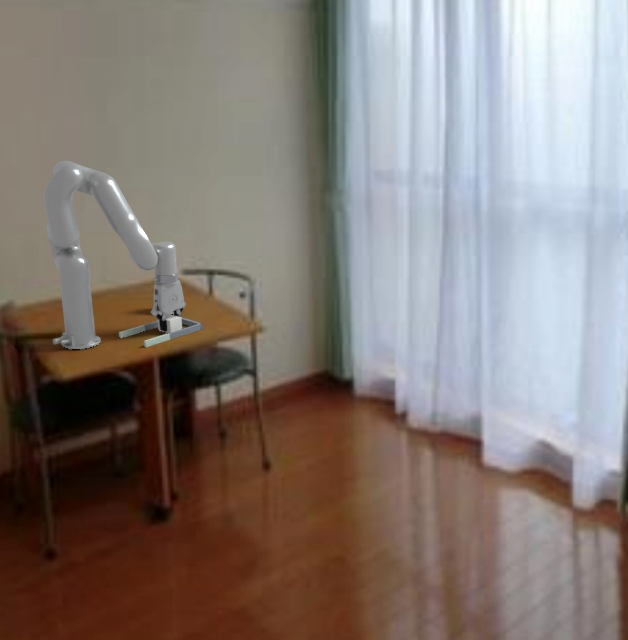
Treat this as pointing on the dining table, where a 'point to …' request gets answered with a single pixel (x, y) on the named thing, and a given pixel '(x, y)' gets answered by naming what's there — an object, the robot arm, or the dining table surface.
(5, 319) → the dining table surface
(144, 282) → the dining table surface
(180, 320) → the white block
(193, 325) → the bay
